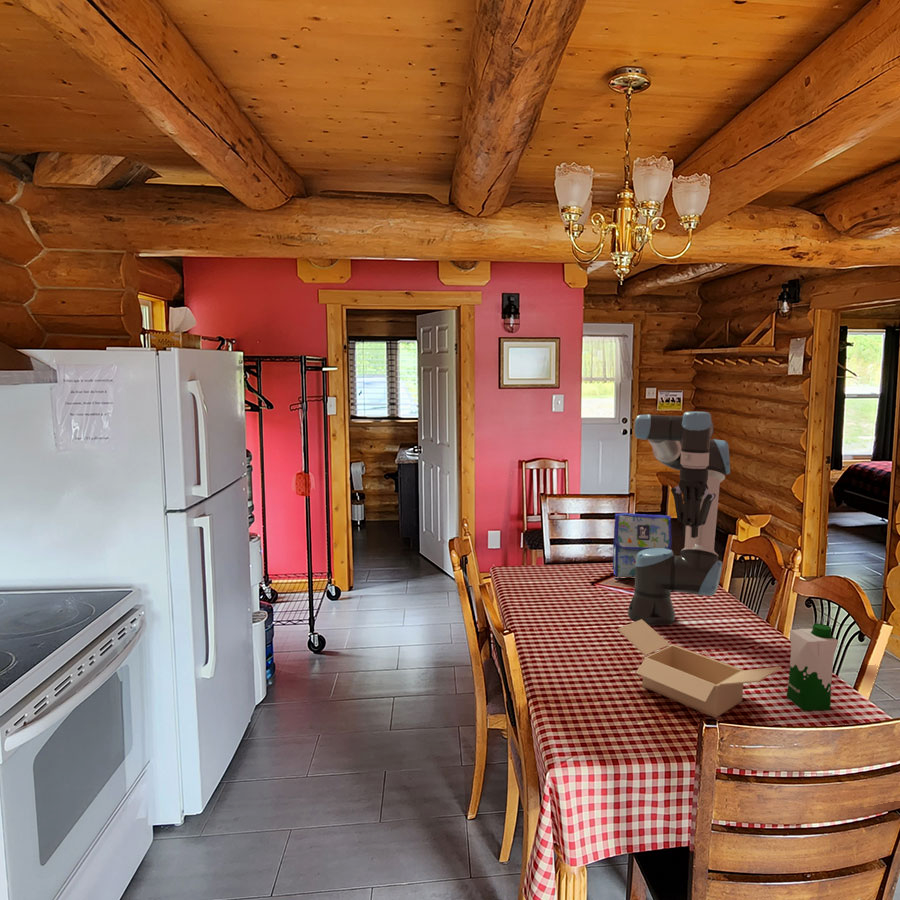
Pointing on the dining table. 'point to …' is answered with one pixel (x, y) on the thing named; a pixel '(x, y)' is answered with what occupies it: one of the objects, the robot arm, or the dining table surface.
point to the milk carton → (811, 667)
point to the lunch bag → (637, 539)
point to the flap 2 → (750, 676)
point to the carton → (691, 679)
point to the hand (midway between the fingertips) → (689, 547)
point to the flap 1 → (643, 637)
